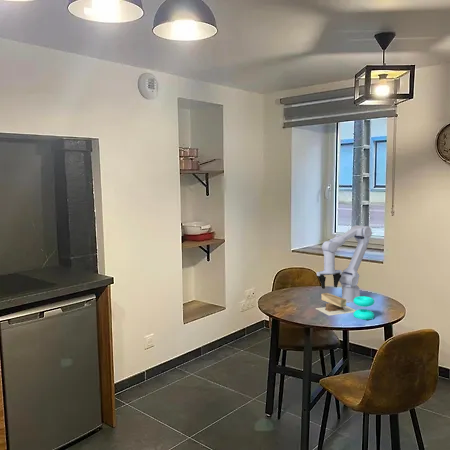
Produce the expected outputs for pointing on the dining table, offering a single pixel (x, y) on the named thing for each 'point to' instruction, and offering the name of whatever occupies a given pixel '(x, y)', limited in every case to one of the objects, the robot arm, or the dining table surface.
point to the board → (346, 310)
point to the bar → (333, 299)
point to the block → (333, 307)
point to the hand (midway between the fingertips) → (329, 287)
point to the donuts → (363, 302)
